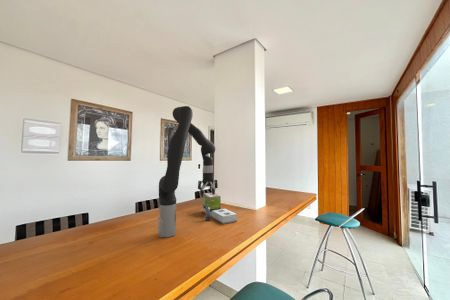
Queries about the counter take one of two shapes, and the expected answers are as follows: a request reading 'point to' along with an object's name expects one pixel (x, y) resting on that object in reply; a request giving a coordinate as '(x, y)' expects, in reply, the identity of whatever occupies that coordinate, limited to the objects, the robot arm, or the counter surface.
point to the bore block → (224, 216)
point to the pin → (207, 214)
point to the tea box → (211, 202)
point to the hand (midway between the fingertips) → (207, 195)
